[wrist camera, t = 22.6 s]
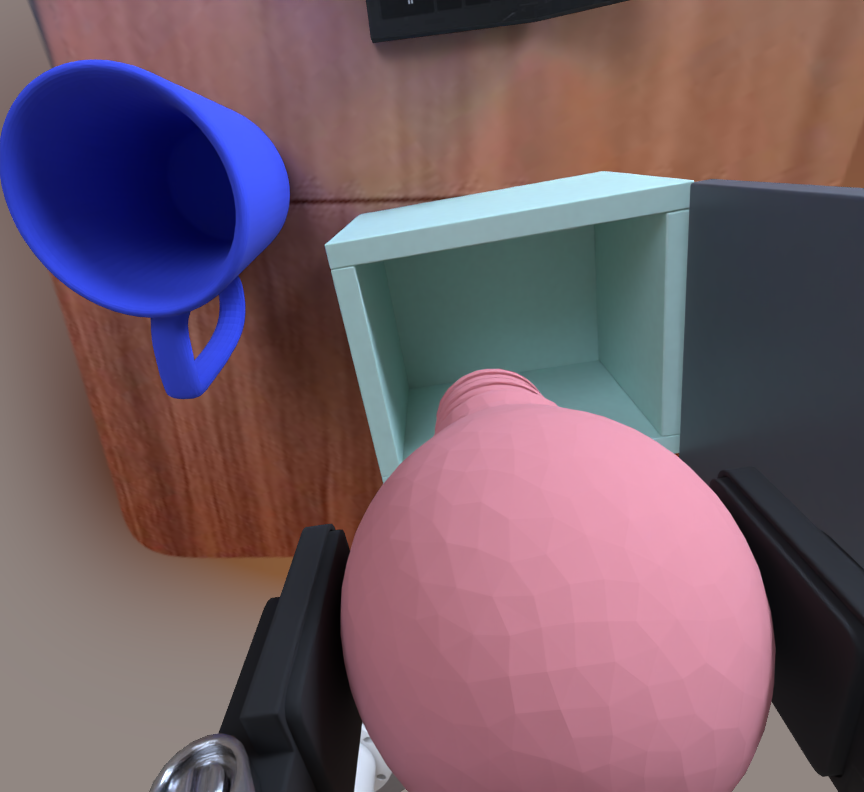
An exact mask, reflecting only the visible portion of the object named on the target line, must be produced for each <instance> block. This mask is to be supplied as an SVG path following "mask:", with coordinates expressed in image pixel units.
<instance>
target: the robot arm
mask: <svg viewBox="0 0 864 792" xmlns="http://www.w3.org/2000/svg"><path fill="white" fill-rule="evenodd" d="M709 487H710V488H711V489H712V490H713V492H714V493H715V494H716V495H717V496H718V497H719V499H720V500H721V501H722V503H723V504H724V506H725V507H726V508H727V510H728V511H729V512H730V514H731V515H732V517H733V518H734V520H735V522H736V524H737V525H738V527H739V529H740V530H741V532H742V534H743V536H744V537H745V539H746V541H747V543H748V545H749V548H750V550H751V552H752V554H753V556H754V558H755V561H756V563H757V565H758V567H759V570H760V573H761V577H762V581H763V584H764V588H765V591H766V595H767V599H768V602H769V606H770V609H771V615H772V622H773V630H774V638H775V647H776V653H775V675H774V688H773V696H772V703H773V704H774V706H775V708H776V709H777V711H778V712H779V714H780V716H781V717H782V719H783V720H784V722H785V724H786V725H787V727H788V729H789V730H790V732H791V733H792V735H793V737H794V738H795V740H796V741H797V743H798V745H799V746H800V748H801V750H802V751H803V753H804V754H805V756H806V758H807V759H808V761H809V762H810V764H811V765H812V767H813V768H814V770H815V771H816V772H817V773H818V774H819V775H821V776H823V777H824V776H829V778H830V779H831V781H832V782H833V784H834V786H835V787H836V789H837V790H838V792H864V569H863V568H862V567H861V566H860V565H859V564H858V563H857V562H856V561H855V560H854V559H853V558H852V557H851V556H850V555H849V554H848V553H847V552H846V551H845V550H843V549H842V548H841V547H840V546H839V545H838V544H837V543H836V542H835V541H834V540H833V539H832V538H831V537H830V536H829V535H827V534H826V533H825V532H823V531H822V530H820V529H818V528H817V527H816V526H815V525H814V524H813V523H812V522H811V521H810V520H809V519H808V518H807V517H806V516H805V515H804V514H803V513H802V512H801V511H800V510H799V509H798V508H797V507H796V506H795V505H794V504H793V503H792V502H791V501H790V500H789V499H788V498H786V497H785V496H784V495H783V494H782V493H781V492H780V491H779V490H778V489H777V488H776V487H775V486H774V485H773V484H772V483H771V482H770V481H769V480H768V479H767V478H766V477H765V476H764V475H763V474H762V473H761V472H760V471H759V470H757V469H756V468H755V467H751V466H749V467H741V468H734V469H727V470H722V471H720V472H719V474H718V477H717V478H716V479H712V480H711V481H710V485H709ZM349 554H350V550H349V546H348V543H347V540H346V536H345V533H344V531H343V530H335V527H334V526H333V524H325V525H318V526H311V527H305V528H304V529H303V531H302V534H301V537H300V540H299V543H298V545H297V548H296V551H295V554H294V557H293V560H292V564H291V566H290V569H289V572H288V575H287V578H286V581H285V584H284V587H283V590H282V593H281V596H280V597H275V598H271V599H270V600H269V601H268V602H267V604H266V606H265V608H264V610H263V613H262V615H261V618H260V621H259V624H258V627H257V629H256V632H255V635H254V637H253V640H252V643H251V646H250V649H249V651H248V654H247V657H246V660H245V662H244V665H243V668H242V670H241V673H240V676H239V679H238V681H237V684H236V687H235V689H234V692H233V695H232V698H231V700H230V703H229V706H228V709H227V711H226V714H225V717H224V720H223V722H222V725H221V728H220V731H219V733H218V734H213V735H207V736H205V737H202V738H200V739H198V740H195V741H193V742H191V743H190V744H189V745H187V746H186V747H184V748H183V749H182V750H180V751H179V752H177V753H176V754H175V755H174V756H173V757H172V758H171V759H170V760H169V762H168V763H167V764H166V765H165V766H164V767H163V769H162V770H161V771H160V773H159V774H158V776H157V777H156V779H155V780H154V782H153V784H152V787H151V789H150V791H149V792H376V791H377V790H379V789H380V788H381V787H382V786H383V785H384V784H385V783H386V782H387V781H388V780H389V777H390V775H391V773H392V771H391V770H390V769H389V768H388V766H387V765H386V763H385V761H384V760H383V758H382V756H381V755H380V753H379V751H378V750H377V748H376V746H375V745H374V743H373V741H372V740H371V738H370V736H369V734H368V732H367V730H366V728H365V726H364V724H363V722H362V720H361V717H360V715H359V712H358V709H357V707H356V704H355V701H354V698H353V695H352V692H351V689H350V685H349V681H348V677H347V673H346V668H345V664H344V657H343V650H342V643H341V636H340V610H341V593H342V584H343V579H344V574H345V569H346V564H347V560H348V557H349Z"/></svg>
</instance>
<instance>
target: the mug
mask: <svg viewBox="0 0 864 792" xmlns="http://www.w3.org/2000/svg"><path fill="white" fill-rule="evenodd" d="M0 178H1V184H2V189H3V193H4V197H5V200H6V203H7V206H8V208H9V211H10V214H11V216H12V218H13V220H14V222H15V224H16V227H17V228H18V230H19V232H20V234H21V236H22V237H23V239H24V240H25V241H26V243H27V245H28V246H29V247H30V249H31V250H32V252H33V253H34V254H35V255H36V257H37V258H38V259H39V260H40V261H41V262H42V264H43V265H44V266H45V267H46V268H47V269H48V270H49V271H50V272H51V273H52V274H53V275H54V276H55V277H56V278H57V279H59V280H60V281H61V282H62V283H64V284H65V285H66V286H67V287H69V288H70V289H71V290H73V291H74V292H76V293H77V294H79V295H81V296H82V297H84V298H86V299H87V300H89V301H91V302H93V303H95V304H97V305H99V306H102V307H104V308H107V309H110V310H112V311H115V312H119V313H122V314H126V315H132V316H137V317H148V318H151V335H152V343H153V348H154V353H155V357H156V361H157V365H158V369H159V373H160V376H161V380H162V383H163V386H164V388H165V391H166V393H167V394H168V395H169V396H171V397H173V398H177V399H193V398H196V397H199V396H201V395H202V394H203V393H204V392H205V391H206V390H207V389H208V387H209V386H210V384H211V383H212V382H213V380H214V379H215V378H216V376H217V375H218V374H219V372H220V371H221V370H222V368H223V367H224V365H225V364H226V362H227V361H228V359H229V357H230V356H231V354H232V352H233V351H234V349H235V347H236V346H237V343H238V341H239V339H240V336H241V334H242V331H243V327H244V322H245V297H244V291H243V287H242V283H241V280H240V278H239V276H238V275H239V274H240V273H241V272H242V271H243V270H244V269H245V268H246V267H247V266H248V265H249V264H250V263H251V262H252V261H253V260H254V259H255V258H256V257H257V256H258V255H259V254H260V253H261V252H262V251H263V250H264V249H265V248H266V247H267V246H268V245H269V244H270V243H271V242H272V241H273V240H274V239H275V238H276V236H277V235H278V234H279V232H280V230H281V229H282V227H283V225H284V222H285V220H286V217H287V213H288V209H289V202H290V187H289V180H288V175H287V172H286V168H285V165H284V163H283V161H282V158H281V156H280V154H279V153H278V151H277V149H276V148H275V146H274V145H273V143H272V142H271V141H270V139H269V138H268V137H267V136H266V135H265V133H264V132H263V131H262V130H261V129H260V128H259V127H257V126H256V125H255V124H254V123H253V122H251V121H250V120H248V119H247V118H245V117H244V116H242V115H240V114H238V113H237V112H235V111H232V110H230V109H228V108H226V107H224V106H222V105H220V104H217V103H215V102H213V101H211V100H209V99H207V98H205V97H202V96H200V95H198V94H196V93H194V92H192V91H189V90H187V89H185V88H183V87H181V86H179V85H177V84H174V83H172V82H170V81H168V80H166V79H164V78H162V77H159V76H157V75H155V74H153V73H151V72H148V71H146V70H144V69H141V68H138V67H135V66H132V65H129V64H125V63H120V62H115V61H108V60H80V61H75V62H70V63H65V64H62V65H60V66H57V67H54V68H52V69H50V70H48V71H46V72H44V73H42V74H41V75H40V76H38V77H37V78H35V79H34V80H33V81H32V82H30V83H29V84H28V85H27V86H26V87H25V88H24V89H23V90H22V91H21V93H20V94H19V95H18V97H17V98H16V100H15V101H14V103H13V104H12V106H11V108H10V110H9V112H8V114H7V116H6V119H5V122H4V125H3V128H2V132H1V138H0ZM217 295H219V300H220V312H219V319H218V323H217V326H216V329H215V331H214V333H213V335H212V337H211V339H210V341H209V342H208V344H207V345H206V347H205V348H204V349H203V351H202V352H201V353H200V355H199V356H198V357H197V358H196V359H195V360H194V357H193V352H192V347H191V343H190V338H189V332H188V318H189V315H190V312H191V311H192V310H195V309H197V308H199V307H201V306H203V305H205V304H206V303H208V302H209V301H211V300H212V299H214V298H215V297H216V296H217Z"/></svg>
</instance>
